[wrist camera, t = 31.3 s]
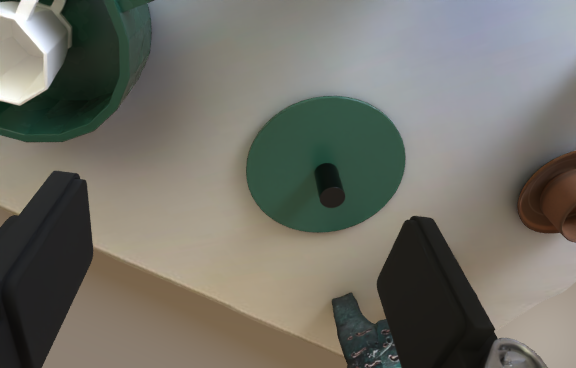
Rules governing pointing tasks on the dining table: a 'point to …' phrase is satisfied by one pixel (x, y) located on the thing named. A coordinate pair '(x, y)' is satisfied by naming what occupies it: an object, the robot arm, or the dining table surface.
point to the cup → (31, 47)
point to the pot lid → (325, 164)
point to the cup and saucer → (551, 198)
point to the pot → (86, 72)
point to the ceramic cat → (363, 337)
